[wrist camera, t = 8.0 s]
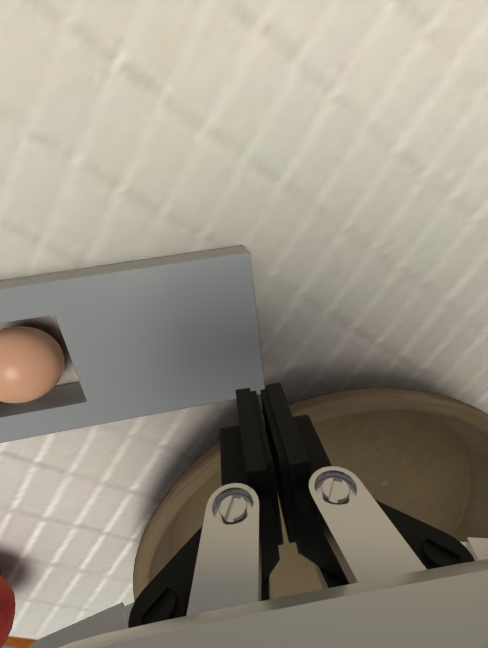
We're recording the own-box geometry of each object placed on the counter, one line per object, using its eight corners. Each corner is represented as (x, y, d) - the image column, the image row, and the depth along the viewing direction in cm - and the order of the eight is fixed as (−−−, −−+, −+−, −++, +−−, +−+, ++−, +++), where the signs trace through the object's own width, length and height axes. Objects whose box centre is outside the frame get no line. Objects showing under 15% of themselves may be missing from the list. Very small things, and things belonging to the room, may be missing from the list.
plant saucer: (551, 462, 30) (610, 506, 26) (335, 648, 37) (353, 706, 33) (305, 276, 20) (335, 298, 16) (70, 580, 27) (47, 652, 23)
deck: (257, 372, 22) (265, 393, 19) (7, 417, 20) (-17, 446, 18) (242, 245, 18) (249, 252, 16) (-58, 288, 17) (-97, 303, 15)
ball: (2, 431, 15) (-16, 402, 18) (86, 389, 18) (59, 369, 20) (-37, 357, 14) (-51, 336, 16) (61, 322, 16) (36, 310, 19)
